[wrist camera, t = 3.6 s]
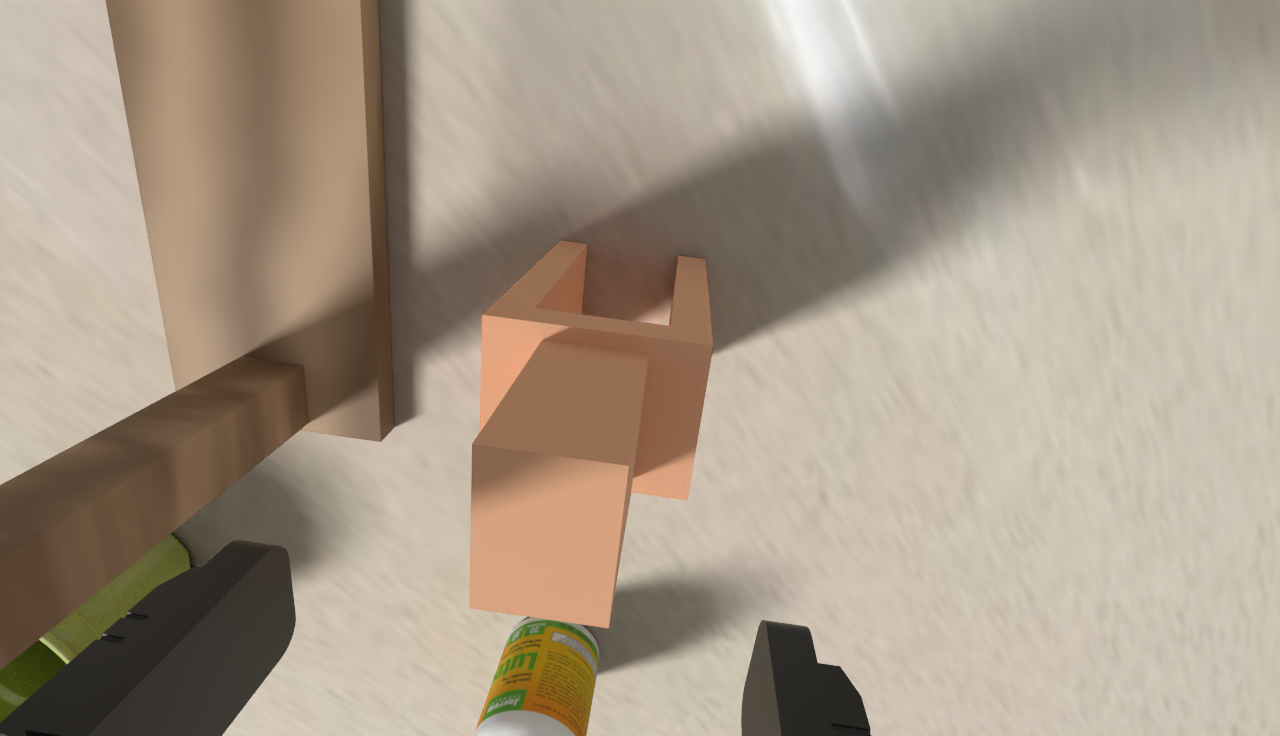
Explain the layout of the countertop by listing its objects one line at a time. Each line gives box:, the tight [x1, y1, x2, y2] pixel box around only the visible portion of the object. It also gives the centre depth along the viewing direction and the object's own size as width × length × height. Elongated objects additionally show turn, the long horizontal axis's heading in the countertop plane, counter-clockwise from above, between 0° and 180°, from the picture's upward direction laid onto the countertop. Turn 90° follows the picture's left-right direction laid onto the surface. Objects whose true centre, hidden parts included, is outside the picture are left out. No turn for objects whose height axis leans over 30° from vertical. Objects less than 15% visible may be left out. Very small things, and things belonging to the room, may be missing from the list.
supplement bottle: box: [474, 617, 599, 736], centre depth 32 cm, size 5×5×10 cm
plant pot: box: [0, 534, 190, 722], centre depth 33 cm, size 9×9×9 cm
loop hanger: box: [470, 240, 713, 628], centre depth 21 cm, size 6×5×17 cm
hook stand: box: [0, 0, 394, 670], centre depth 19 cm, size 10×28×18 cm, turn 174°
